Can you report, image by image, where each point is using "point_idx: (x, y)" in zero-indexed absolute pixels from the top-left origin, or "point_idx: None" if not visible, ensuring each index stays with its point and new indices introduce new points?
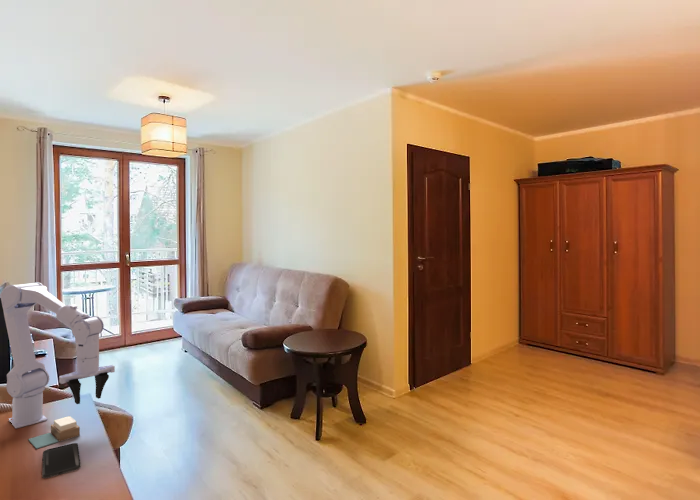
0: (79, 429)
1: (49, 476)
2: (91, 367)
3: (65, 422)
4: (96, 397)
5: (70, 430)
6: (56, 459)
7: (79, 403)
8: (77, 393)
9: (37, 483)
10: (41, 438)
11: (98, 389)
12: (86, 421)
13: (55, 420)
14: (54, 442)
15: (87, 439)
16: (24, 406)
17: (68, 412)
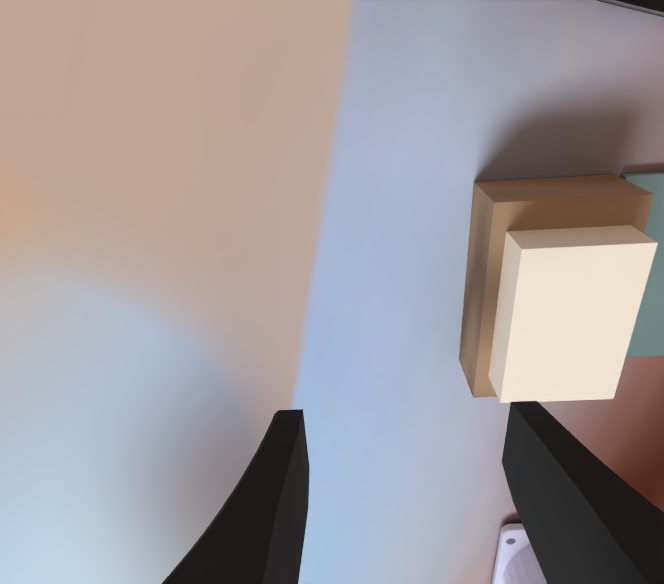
0: (489, 195)
1: None
2: None
3: (586, 298)
4: (307, 452)
5: (566, 196)
6: None
7: (516, 403)
8: (632, 511)
9: None
10: (660, 306)
11: (286, 521)
12: (354, 379)
13: (608, 389)
14: (652, 173)
15: (466, 44)
16: None
17: (385, 546)
